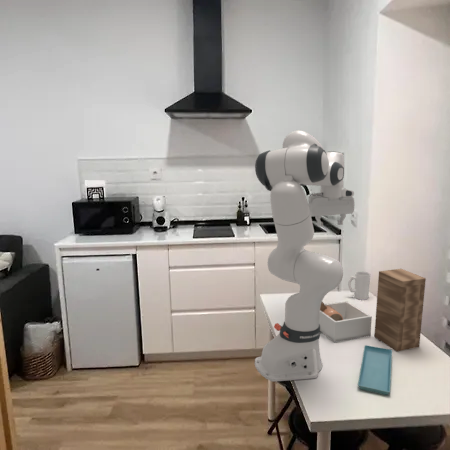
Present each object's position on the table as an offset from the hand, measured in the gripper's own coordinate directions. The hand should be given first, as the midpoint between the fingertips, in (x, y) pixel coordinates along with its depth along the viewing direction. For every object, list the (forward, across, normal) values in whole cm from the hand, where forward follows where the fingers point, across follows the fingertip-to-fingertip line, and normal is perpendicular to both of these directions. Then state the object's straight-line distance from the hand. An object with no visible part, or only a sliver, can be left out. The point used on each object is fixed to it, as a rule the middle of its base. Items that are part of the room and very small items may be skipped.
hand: (330, 225), depth 169 cm
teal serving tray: (+40, -9, -44) cm, 60 cm away
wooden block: (+39, +11, -30) cm, 50 cm away
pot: (+31, -8, -8) cm, 33 cm away
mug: (+39, +25, +12) cm, 48 cm away
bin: (+39, -3, -15) cm, 42 cm away
